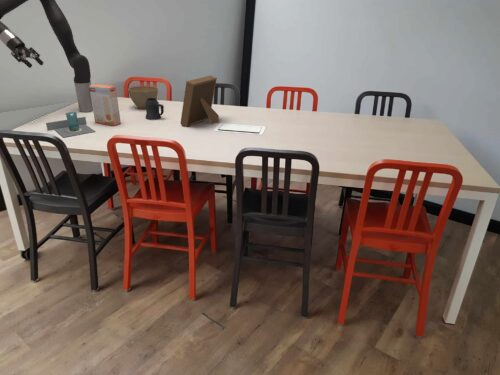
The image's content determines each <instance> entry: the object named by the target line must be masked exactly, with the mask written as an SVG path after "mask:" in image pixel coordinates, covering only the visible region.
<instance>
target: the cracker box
mask: <svg viewBox="0 0 500 375" xmlns="http://www.w3.org/2000/svg"><path fill="white" fill-rule="evenodd" d="M89 89H90V95H91V101H92V107H93V111H92V112H93V117H94V118H93V120H94V123H95V124H101V125H106V126H111V127H112V126H113V127H115V126H118V125H120V124H122V122H121V121H122V120H121V115H120V108H119V101H118V100H119V99H118V92H117V86H115V85H106V84H105V85H104V84H99V83H95V84H91V85H90V86H89Z"/></svg>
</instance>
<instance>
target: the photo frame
mask: <svg viewBox="0 0 500 375" xmlns="http://www.w3.org/2000/svg"><path fill="white" fill-rule="evenodd" d="M217 79H218V77H215V76H212V75H207V76H204V77H199V78H194V79H191V80H186V81H185V82H186V83H185V88H184V89H185V90H184V96H183V103H182V109H181V110H182V111H181V117H180V123H179V124H180V125H182V126H183V127H186V128H187V127H190V126H193V125H195V124H198V123H200V122H202V121H205V120H208V119H209V121H210V124H213V125H214V124H219V123H220V119H219V118H220V117H219V114H218V113H217V112H216V111H215V109H213V108H212V105H213V101H214V95H215V90H216V84H217V81H218V80H217Z"/></svg>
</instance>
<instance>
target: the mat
mask: <svg viewBox="0 0 500 375" xmlns="http://www.w3.org/2000/svg"><path fill="white" fill-rule="evenodd" d="M53 131H55V132H56V133H57V134H58V135H59V136H60V137H62V138H63V139H65V138H70V137H71V138H72V137H75V136H80V135H81V136H82V135H86V134H90V133H91V134H92V133H96V130H94V129H93V128H92V127H90V126H88V125H87V124H83V125H79V131H75V132H71V131H69V127H65V128H59V129H54V130H53Z"/></svg>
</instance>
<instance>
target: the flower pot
mask: <svg viewBox="0 0 500 375" xmlns="http://www.w3.org/2000/svg"><path fill="white" fill-rule="evenodd" d="M127 90H128V94H129V98H130V99H131V101H132V102H133V104H134V105H135V106H136V107H137V108H138V109H140V110H146V105H145V102H146V100H147V98H156V99H157V98H158V93H159V88H158V87H157V86H151V85H137V86H132V87H129V88H128V89H127Z"/></svg>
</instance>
